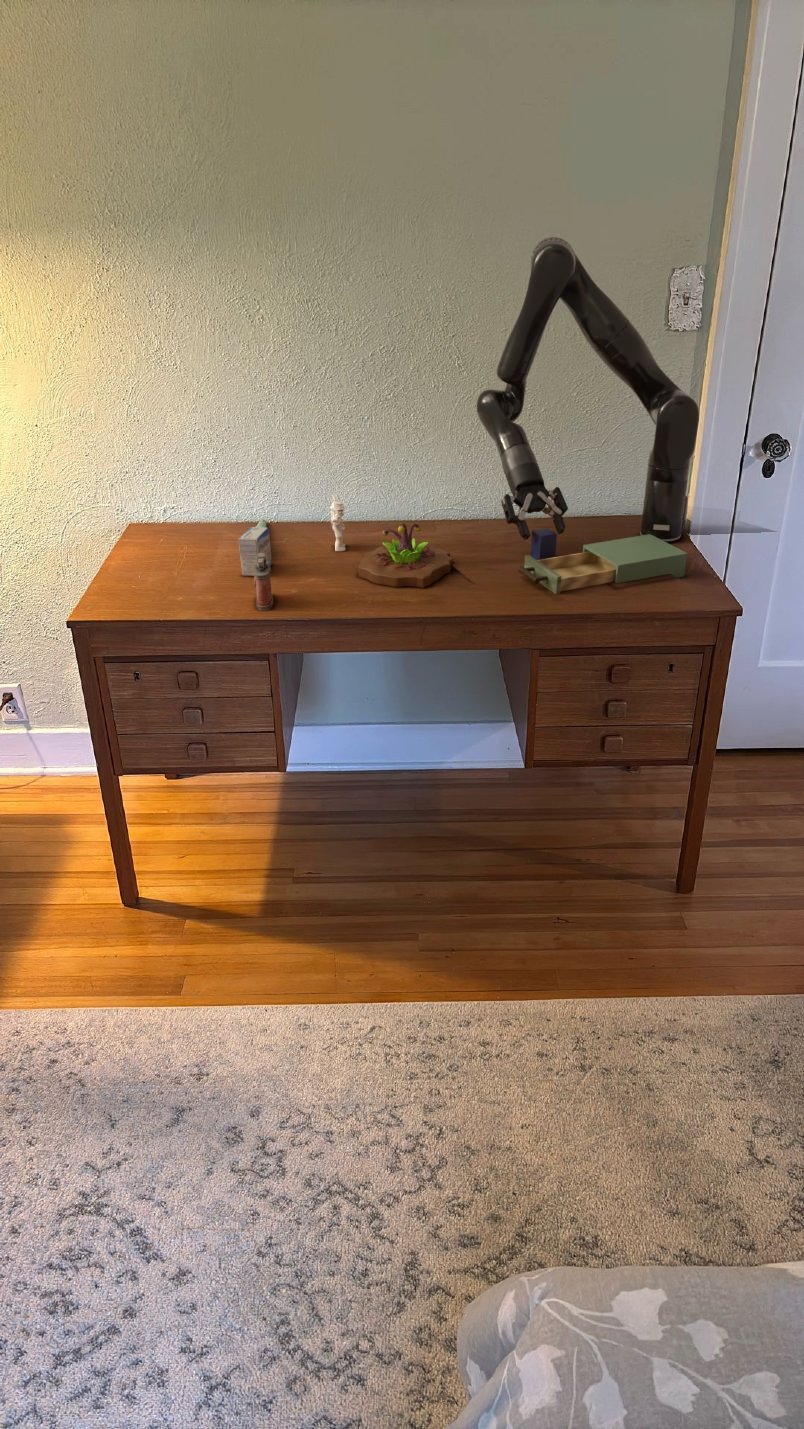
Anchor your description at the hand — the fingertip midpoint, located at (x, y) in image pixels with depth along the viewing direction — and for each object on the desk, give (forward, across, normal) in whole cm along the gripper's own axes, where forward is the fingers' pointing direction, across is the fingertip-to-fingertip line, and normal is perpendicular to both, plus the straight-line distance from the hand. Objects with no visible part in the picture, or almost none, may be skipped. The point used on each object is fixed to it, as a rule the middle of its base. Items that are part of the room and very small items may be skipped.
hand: (544, 535), depth 214 cm
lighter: (+2, -62, +8) cm, 63 cm away
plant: (-2, -30, +11) cm, 32 cm away
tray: (+13, -1, -4) cm, 14 cm away
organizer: (+13, +15, -4) cm, 21 cm away
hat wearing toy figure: (-15, -38, +25) cm, 48 cm away
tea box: (+5, 0, +5) cm, 7 cm away
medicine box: (-12, -59, +21) cm, 64 cm away
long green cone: (-24, -54, +34) cm, 68 cm away
